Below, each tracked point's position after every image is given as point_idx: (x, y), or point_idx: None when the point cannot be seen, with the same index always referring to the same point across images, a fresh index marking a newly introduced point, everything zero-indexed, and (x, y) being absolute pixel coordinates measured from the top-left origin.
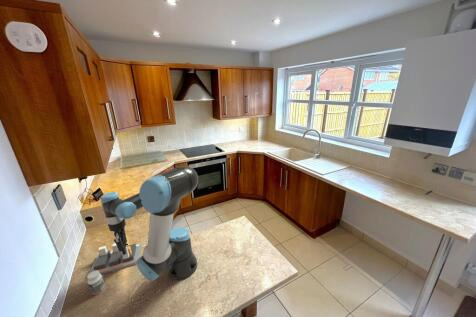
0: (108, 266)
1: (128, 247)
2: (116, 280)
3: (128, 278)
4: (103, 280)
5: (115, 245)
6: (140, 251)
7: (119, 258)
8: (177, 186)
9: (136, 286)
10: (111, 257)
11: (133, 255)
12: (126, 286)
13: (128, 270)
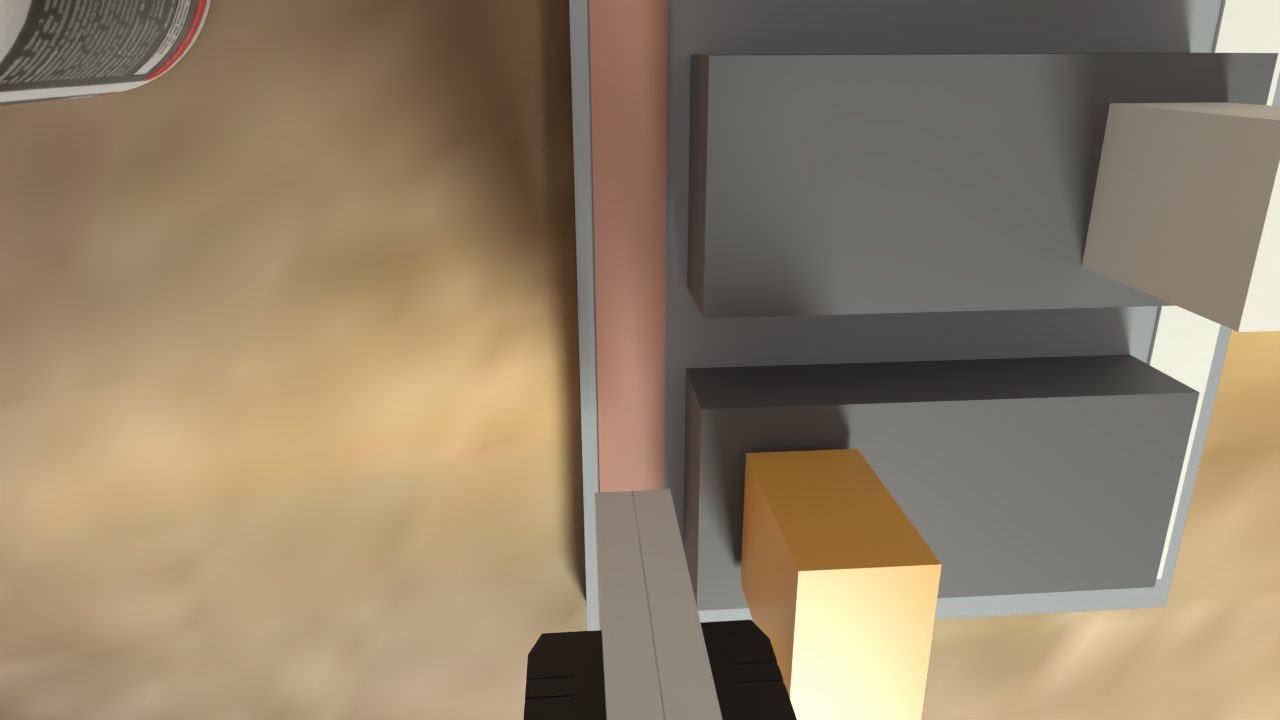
0: (709, 20)
1: (867, 694)
2: (259, 285)
3: (246, 502)
4: (77, 86)
5: (1267, 237)
6: None
7: (773, 313)
8: None
9: (14, 665)
10: (918, 83)
11: None
12: (50, 507)
13: (468, 460)
